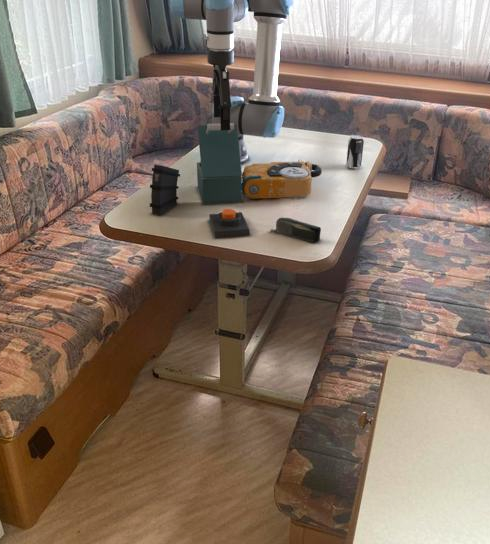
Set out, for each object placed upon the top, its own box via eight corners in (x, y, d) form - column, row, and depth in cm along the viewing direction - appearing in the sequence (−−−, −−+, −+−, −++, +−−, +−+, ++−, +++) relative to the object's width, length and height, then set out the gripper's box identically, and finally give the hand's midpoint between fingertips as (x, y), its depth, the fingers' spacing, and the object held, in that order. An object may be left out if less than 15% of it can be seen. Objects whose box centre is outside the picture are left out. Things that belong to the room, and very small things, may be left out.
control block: (209, 220, 176) (209, 208, 174) (241, 218, 178) (241, 206, 176) (215, 238, 166) (214, 225, 164) (249, 235, 168) (249, 223, 166)
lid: (197, 126, 182) (199, 118, 174) (236, 125, 185) (240, 117, 177) (202, 178, 182) (204, 172, 174) (241, 176, 185) (245, 170, 176)
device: (236, 155, 204) (319, 153, 208) (236, 177, 208) (317, 175, 213) (242, 178, 185) (333, 176, 189) (242, 202, 189) (331, 199, 193)
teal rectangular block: (197, 186, 199) (196, 162, 194) (233, 184, 202) (233, 160, 197) (203, 204, 186) (202, 179, 181) (241, 202, 189) (241, 177, 184)
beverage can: (348, 163, 225) (351, 133, 219) (362, 165, 224) (365, 135, 218) (344, 168, 221) (347, 137, 215) (359, 170, 219) (362, 139, 213)
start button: (221, 214, 171) (220, 209, 170) (234, 213, 172) (234, 208, 171) (223, 220, 168) (223, 214, 167) (236, 219, 169) (236, 214, 168)
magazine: (144, 213, 175) (152, 164, 173) (165, 215, 187) (173, 169, 186) (155, 215, 174) (163, 165, 172) (175, 217, 186) (183, 171, 185)
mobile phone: (322, 225, 165) (274, 213, 170) (318, 229, 163) (270, 217, 167) (320, 240, 167) (273, 228, 172) (316, 245, 165) (269, 232, 170)
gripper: (201, 41, 173) (204, 112, 184) (213, 57, 152) (215, 136, 163) (226, 41, 174) (227, 111, 185) (241, 57, 154) (241, 135, 165)
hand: (221, 123), depth 174 cm, fingers open, 13 cm apart
